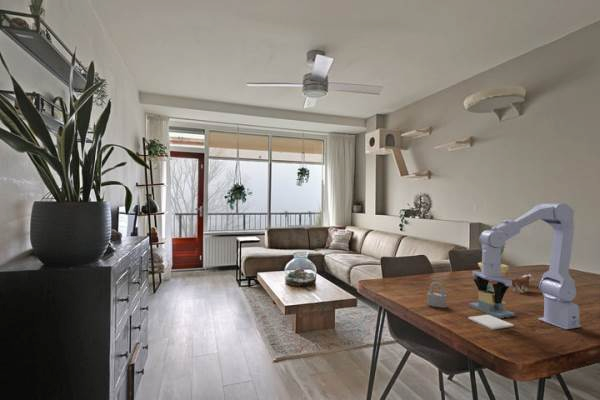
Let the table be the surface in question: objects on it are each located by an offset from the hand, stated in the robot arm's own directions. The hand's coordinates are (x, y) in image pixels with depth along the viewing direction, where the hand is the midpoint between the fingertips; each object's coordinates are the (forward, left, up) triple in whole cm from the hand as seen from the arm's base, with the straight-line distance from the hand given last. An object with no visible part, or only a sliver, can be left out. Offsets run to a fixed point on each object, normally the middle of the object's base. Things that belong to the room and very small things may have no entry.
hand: (490, 300), depth 111 cm
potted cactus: (+49, -61, -8) cm, 79 cm away
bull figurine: (+26, -53, -8) cm, 60 cm away
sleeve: (0, 0, 0) cm, 0 cm away
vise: (+9, -13, -8) cm, 18 cm away
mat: (0, 0, -8) cm, 8 cm away
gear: (+21, -24, -8) cm, 33 cm away
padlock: (+20, +6, -8) cm, 22 cm away
